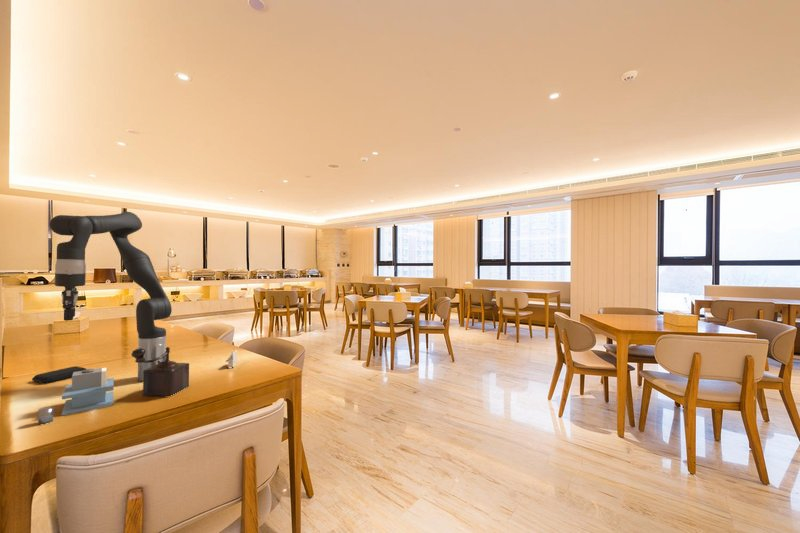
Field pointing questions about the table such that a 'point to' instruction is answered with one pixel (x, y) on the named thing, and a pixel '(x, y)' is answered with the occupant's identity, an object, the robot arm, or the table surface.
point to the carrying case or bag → (56, 375)
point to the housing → (89, 379)
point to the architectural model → (232, 359)
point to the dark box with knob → (162, 375)
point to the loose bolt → (45, 415)
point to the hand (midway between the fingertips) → (69, 318)
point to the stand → (88, 398)
